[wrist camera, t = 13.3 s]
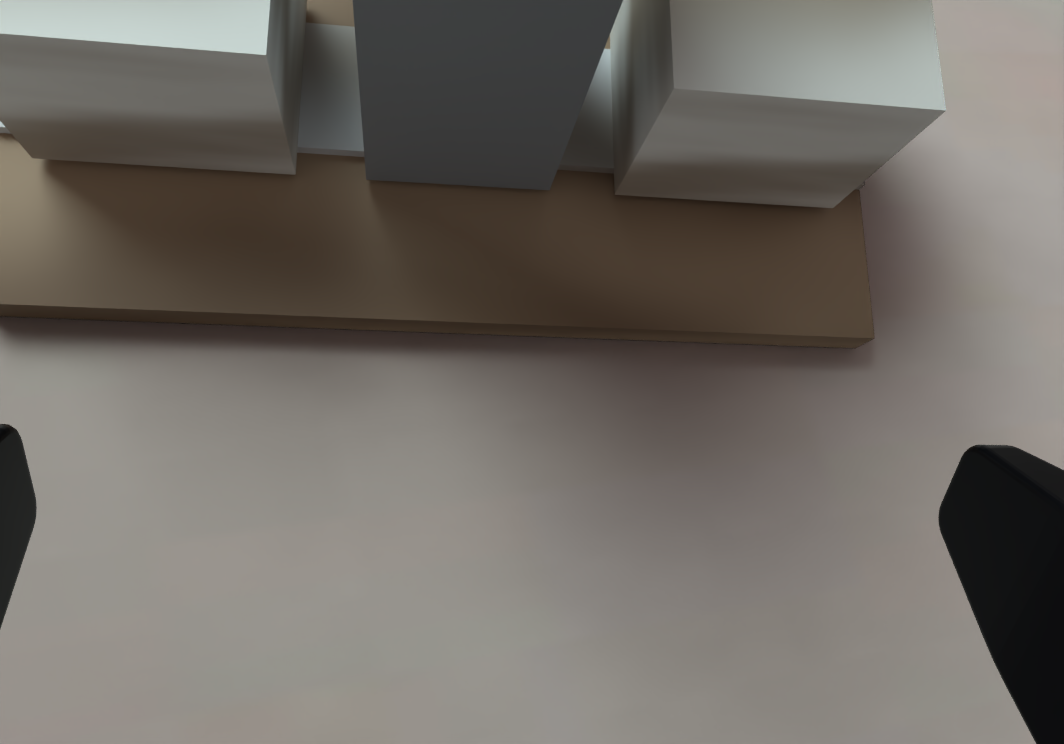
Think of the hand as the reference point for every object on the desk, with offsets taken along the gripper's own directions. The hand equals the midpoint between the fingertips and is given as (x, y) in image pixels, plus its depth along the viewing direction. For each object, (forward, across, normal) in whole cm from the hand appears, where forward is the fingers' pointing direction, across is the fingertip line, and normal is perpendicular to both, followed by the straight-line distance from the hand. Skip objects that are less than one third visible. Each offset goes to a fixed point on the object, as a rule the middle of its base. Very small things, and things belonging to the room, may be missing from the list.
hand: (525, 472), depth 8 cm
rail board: (+17, 0, +1) cm, 17 cm away
